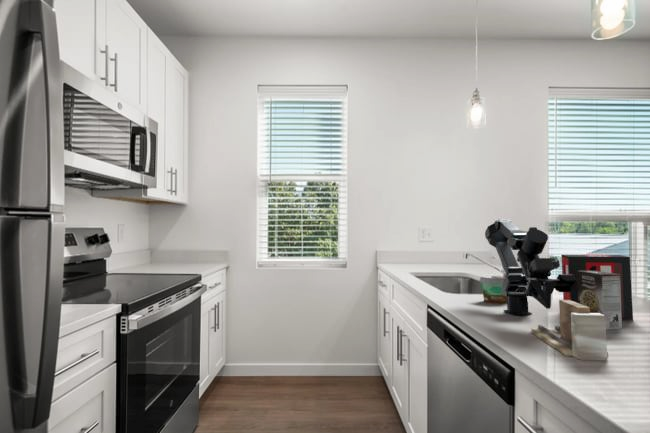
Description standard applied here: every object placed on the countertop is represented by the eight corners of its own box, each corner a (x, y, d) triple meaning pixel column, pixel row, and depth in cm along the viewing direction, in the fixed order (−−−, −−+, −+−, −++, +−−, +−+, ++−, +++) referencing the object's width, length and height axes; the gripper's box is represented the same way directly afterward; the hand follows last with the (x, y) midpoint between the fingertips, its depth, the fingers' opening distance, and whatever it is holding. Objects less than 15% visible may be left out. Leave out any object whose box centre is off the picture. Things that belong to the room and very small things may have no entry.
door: (559, 338, 93) (558, 299, 93) (571, 339, 93) (569, 299, 93) (578, 350, 84) (576, 307, 85) (591, 350, 84) (589, 307, 84)
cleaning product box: (571, 317, 119) (568, 256, 120) (564, 311, 127) (561, 254, 128) (633, 320, 113) (629, 256, 114) (620, 314, 122) (617, 254, 122)
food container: (484, 304, 142) (483, 278, 142) (480, 300, 148) (479, 276, 148) (517, 304, 140) (516, 278, 140) (512, 301, 146) (511, 276, 146)
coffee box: (578, 322, 113) (575, 270, 113) (597, 321, 113) (594, 269, 114) (603, 330, 104) (600, 274, 104) (623, 329, 104) (620, 273, 105)
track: (531, 331, 104) (529, 296, 104) (565, 332, 102) (563, 297, 103) (571, 359, 82) (569, 315, 82) (614, 360, 81) (612, 315, 81)
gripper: (505, 248, 109) (520, 291, 98) (572, 247, 106) (596, 291, 95) (497, 270, 117) (511, 313, 106) (560, 270, 114) (580, 314, 103)
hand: (548, 307), depth 102 cm, fingers closed
